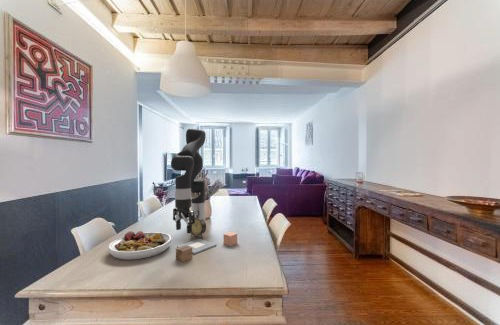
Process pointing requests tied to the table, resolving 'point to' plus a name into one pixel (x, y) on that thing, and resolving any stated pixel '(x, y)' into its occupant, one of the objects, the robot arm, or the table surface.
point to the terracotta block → (230, 238)
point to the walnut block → (183, 253)
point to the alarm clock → (198, 226)
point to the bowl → (139, 245)
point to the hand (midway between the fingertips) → (183, 231)
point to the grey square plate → (199, 245)
